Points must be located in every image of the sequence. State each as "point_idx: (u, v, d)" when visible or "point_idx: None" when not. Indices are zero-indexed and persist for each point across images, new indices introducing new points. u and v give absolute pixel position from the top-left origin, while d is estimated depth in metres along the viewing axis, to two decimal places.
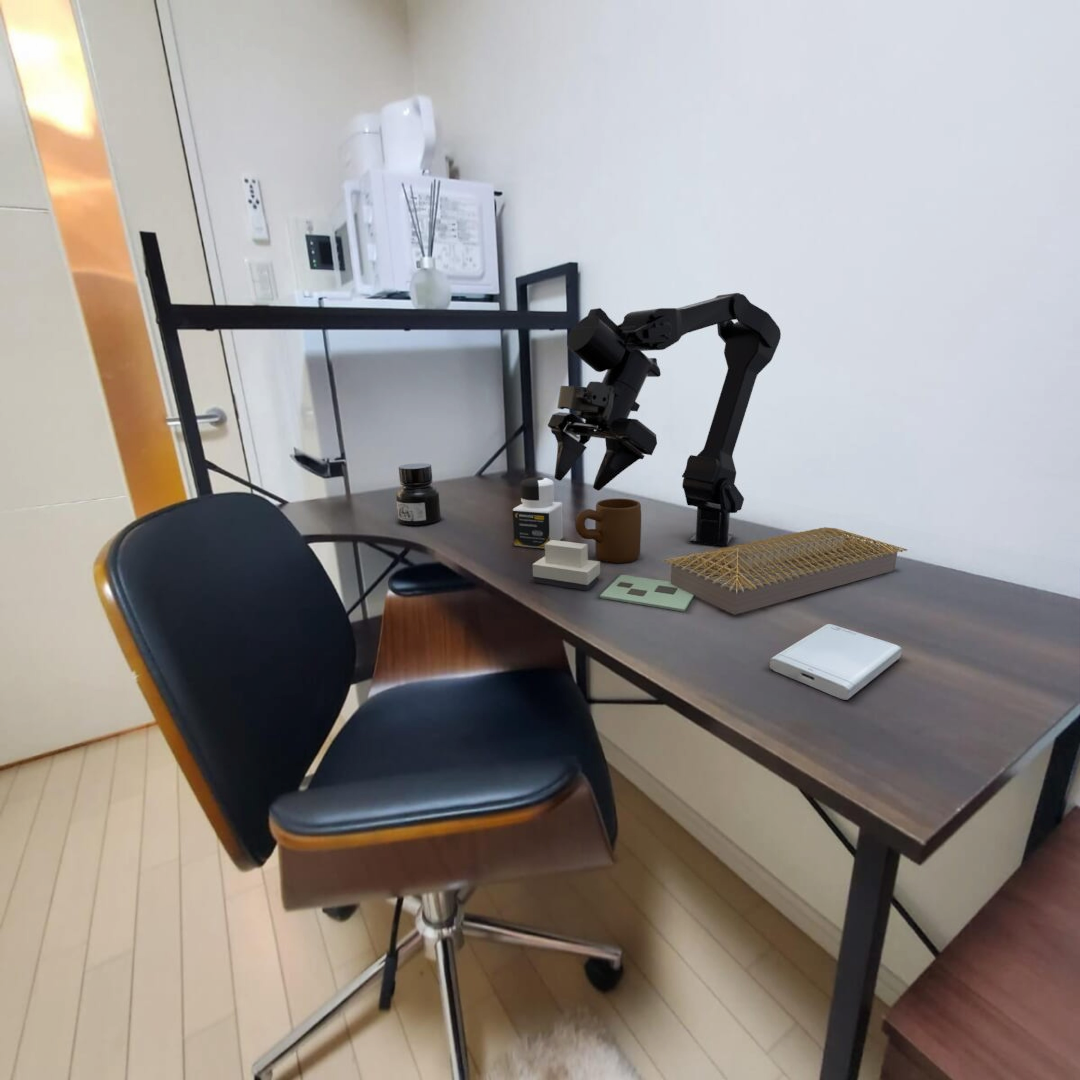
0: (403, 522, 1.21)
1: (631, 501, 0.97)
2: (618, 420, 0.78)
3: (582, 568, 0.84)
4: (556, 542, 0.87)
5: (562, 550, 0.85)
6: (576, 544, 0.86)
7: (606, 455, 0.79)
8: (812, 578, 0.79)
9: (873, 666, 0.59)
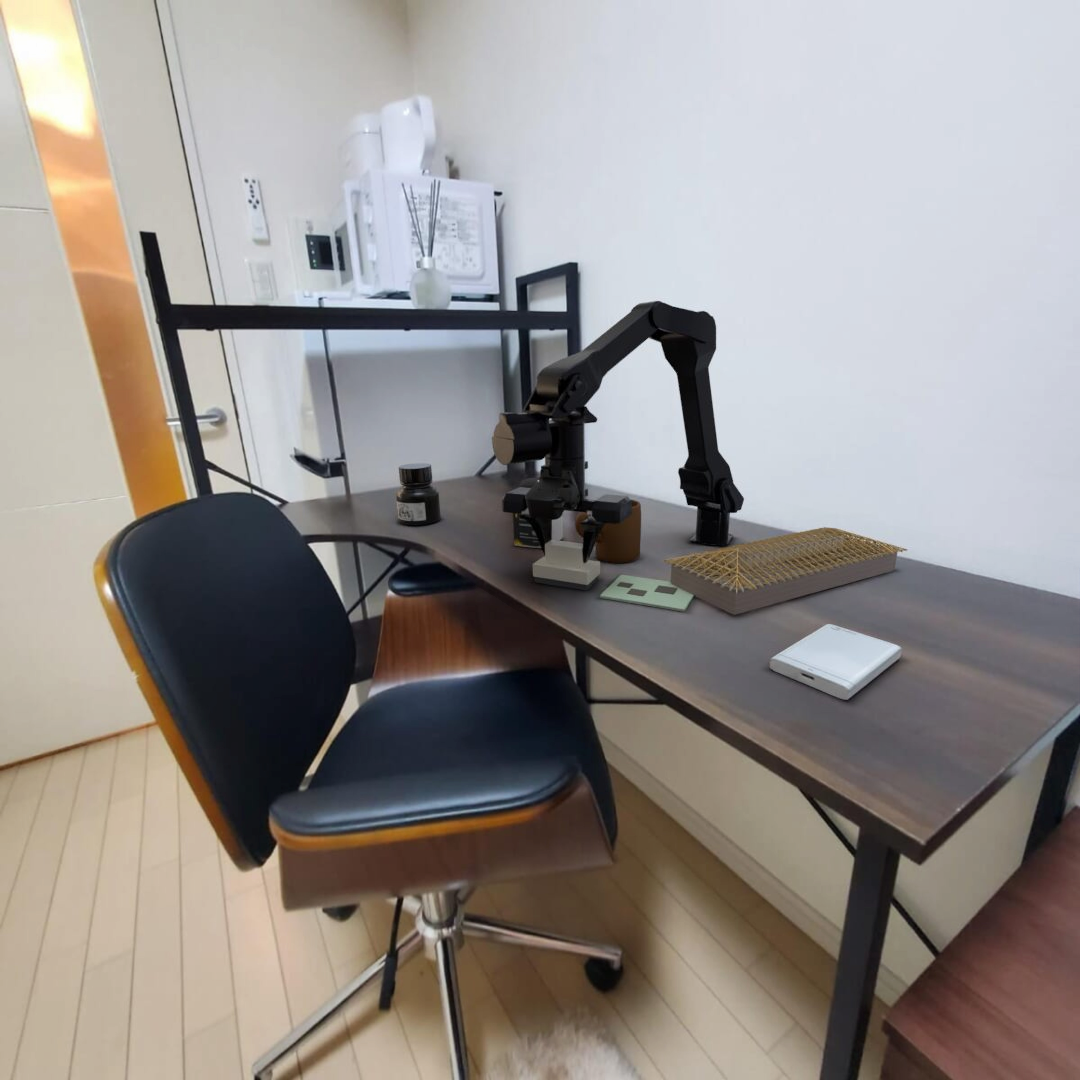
0: (403, 522, 1.21)
1: (631, 501, 0.97)
2: (598, 507, 0.79)
3: (582, 568, 0.84)
4: (556, 542, 0.87)
5: (562, 550, 0.85)
6: (576, 544, 0.86)
7: (586, 535, 0.82)
8: (812, 578, 0.79)
9: (873, 666, 0.59)
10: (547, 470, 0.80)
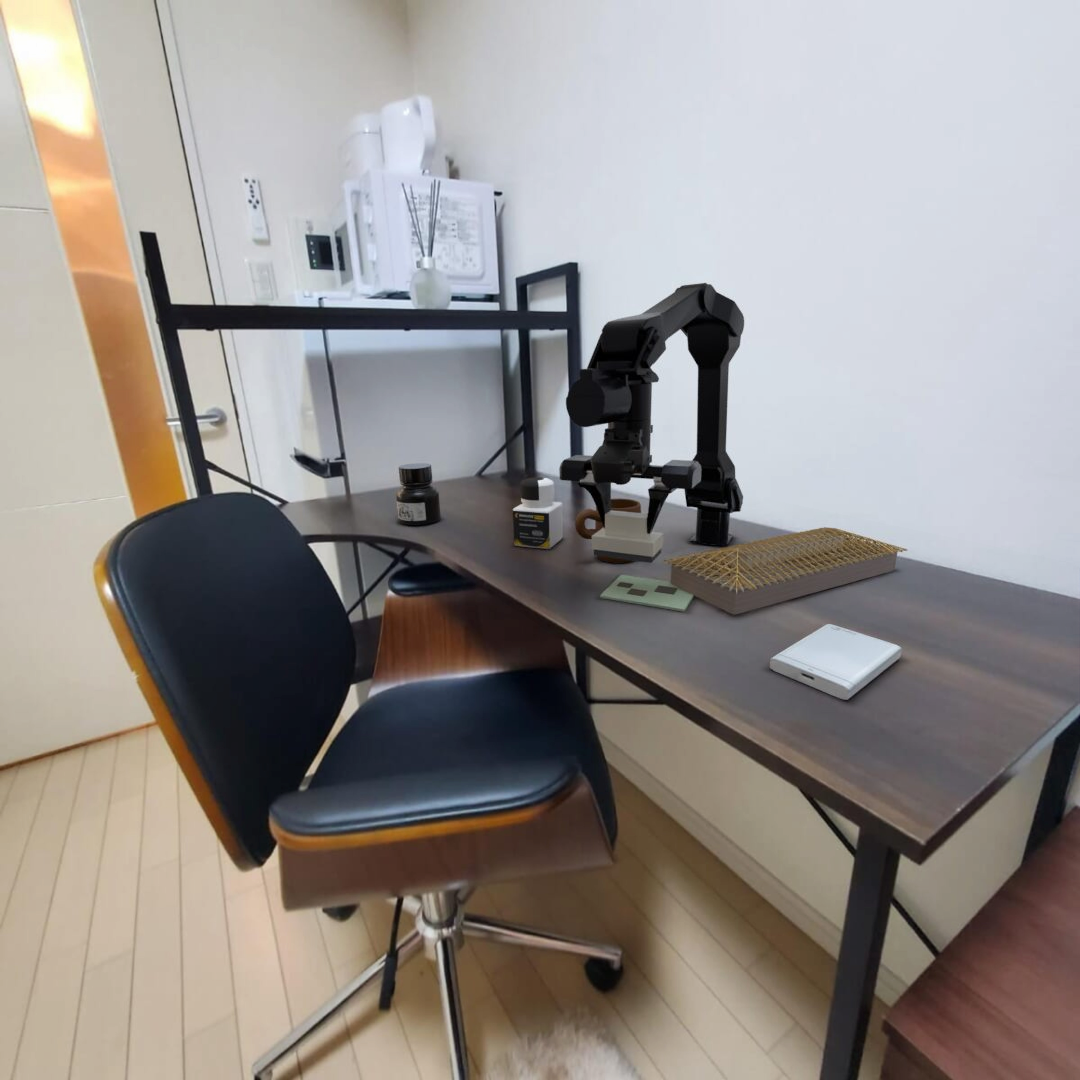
0: (403, 522, 1.21)
1: (631, 501, 0.97)
2: (668, 472, 0.73)
3: (646, 539, 0.79)
4: (617, 512, 0.81)
5: (624, 520, 0.80)
6: (639, 514, 0.80)
7: (652, 503, 0.77)
8: (812, 578, 0.79)
9: (873, 666, 0.59)
10: (612, 433, 0.75)
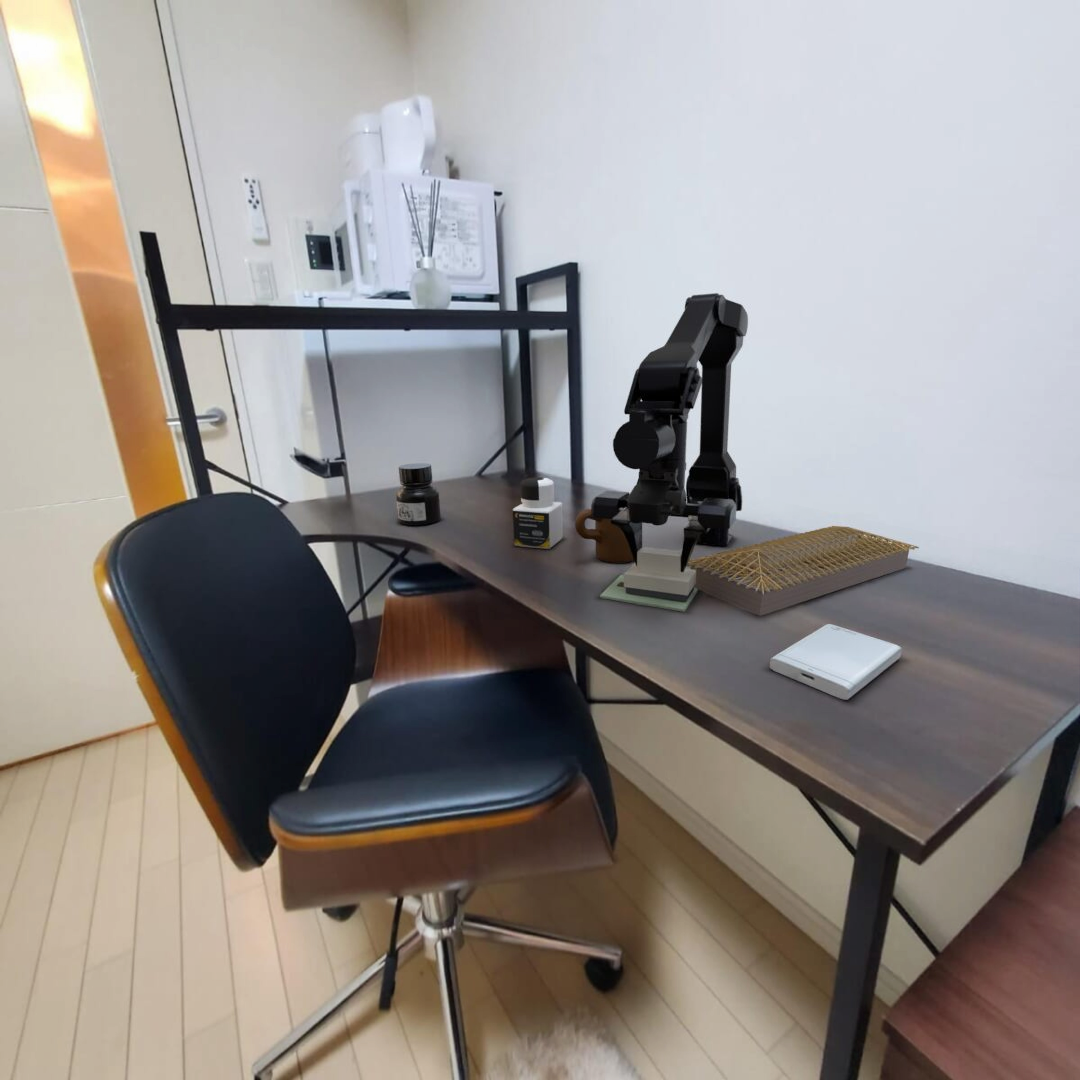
0: (403, 522, 1.21)
1: None
2: (704, 512, 0.73)
3: (680, 577, 0.78)
4: (649, 549, 0.81)
5: (657, 558, 0.79)
6: (672, 551, 0.80)
7: (686, 542, 0.76)
8: (831, 577, 0.79)
9: (873, 666, 0.59)
10: (647, 472, 0.74)
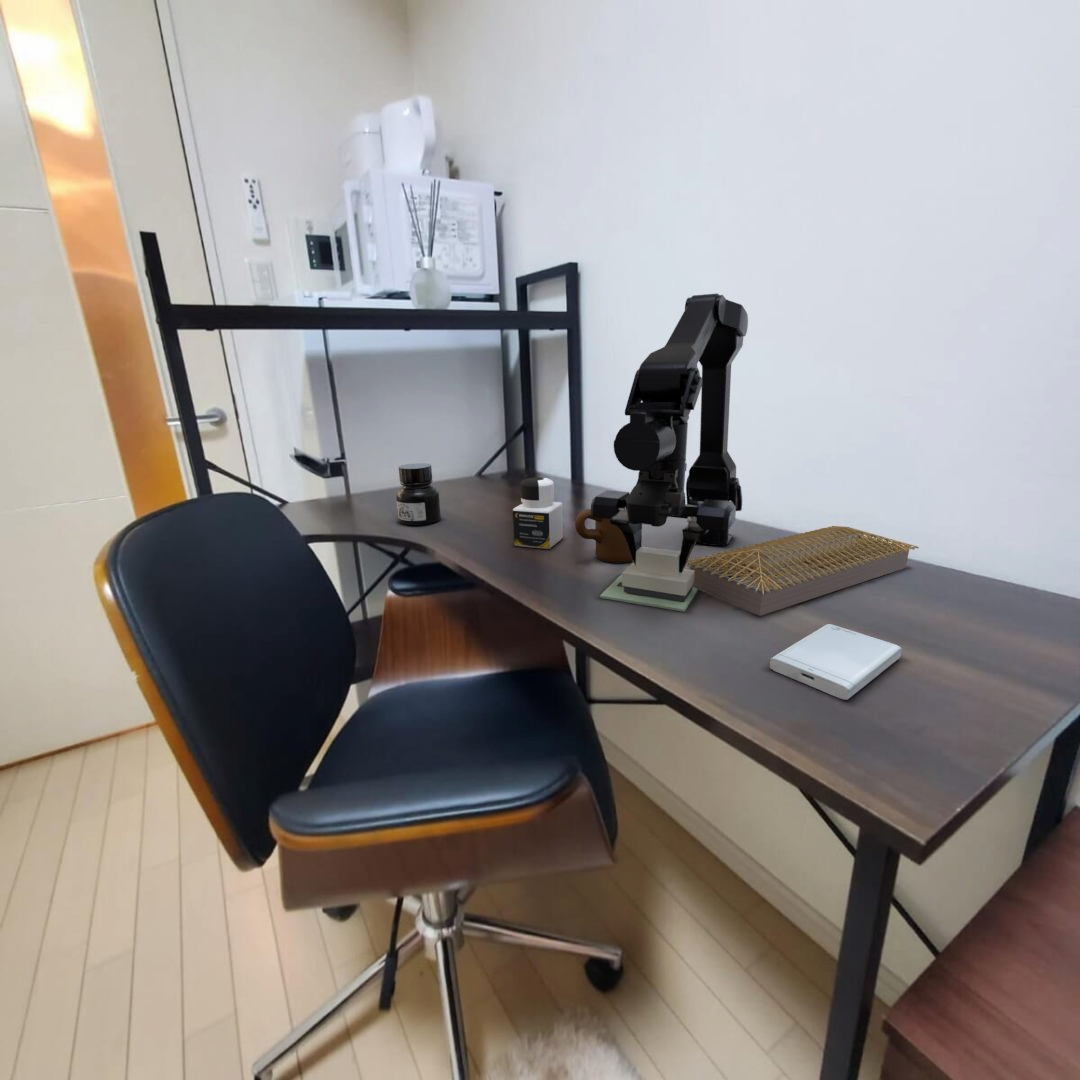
0: (403, 522, 1.21)
1: None
2: (703, 513, 0.73)
3: (678, 578, 0.78)
4: (648, 549, 0.81)
5: (656, 558, 0.79)
6: (671, 551, 0.80)
7: (685, 543, 0.76)
8: (831, 577, 0.79)
9: (873, 666, 0.59)
10: (647, 473, 0.74)
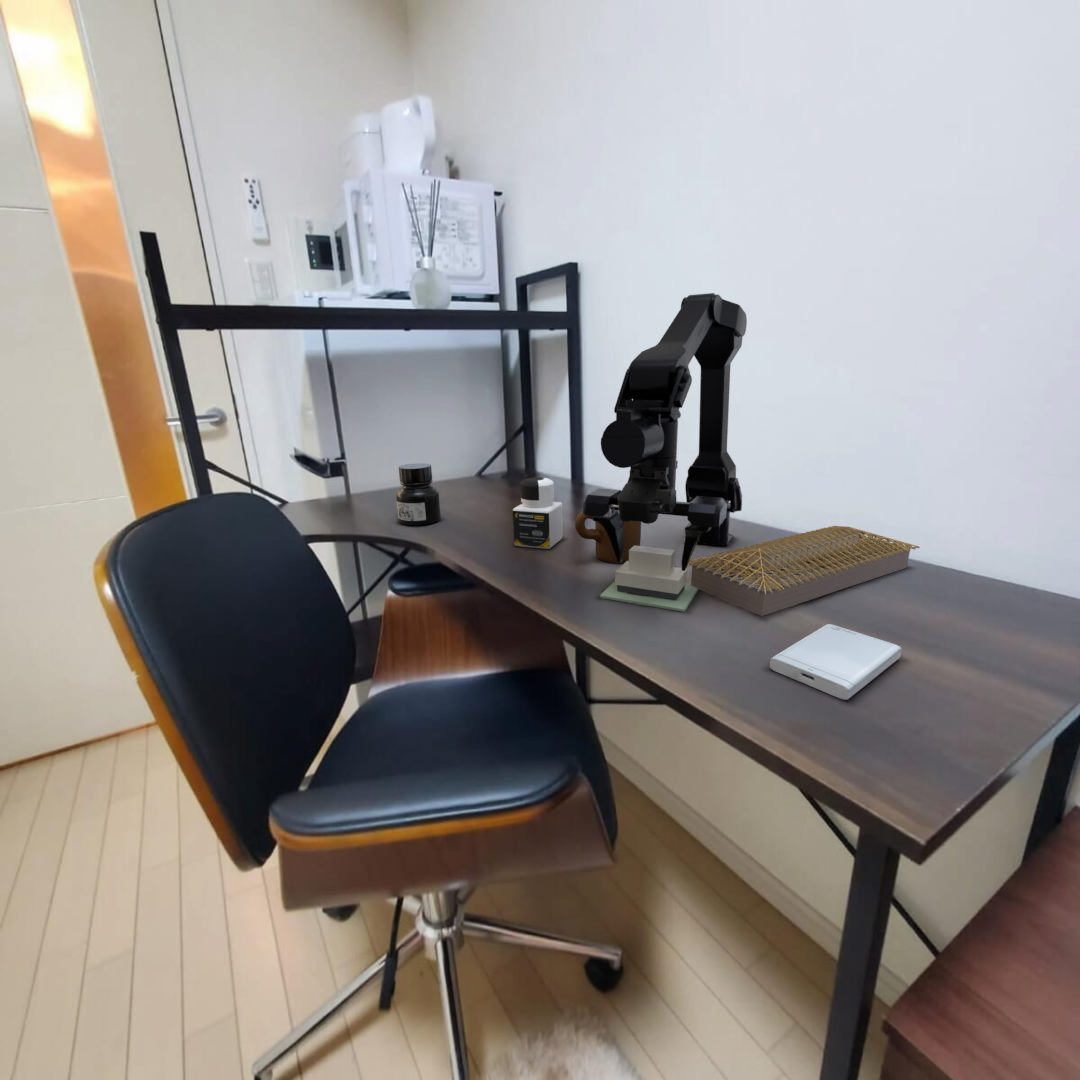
0: (403, 522, 1.21)
1: None
2: (694, 510, 0.73)
3: (671, 576, 0.79)
4: (640, 548, 0.81)
5: (649, 556, 0.80)
6: (663, 550, 0.80)
7: (688, 541, 0.76)
8: (833, 577, 0.79)
9: (873, 666, 0.59)
10: (638, 470, 0.75)
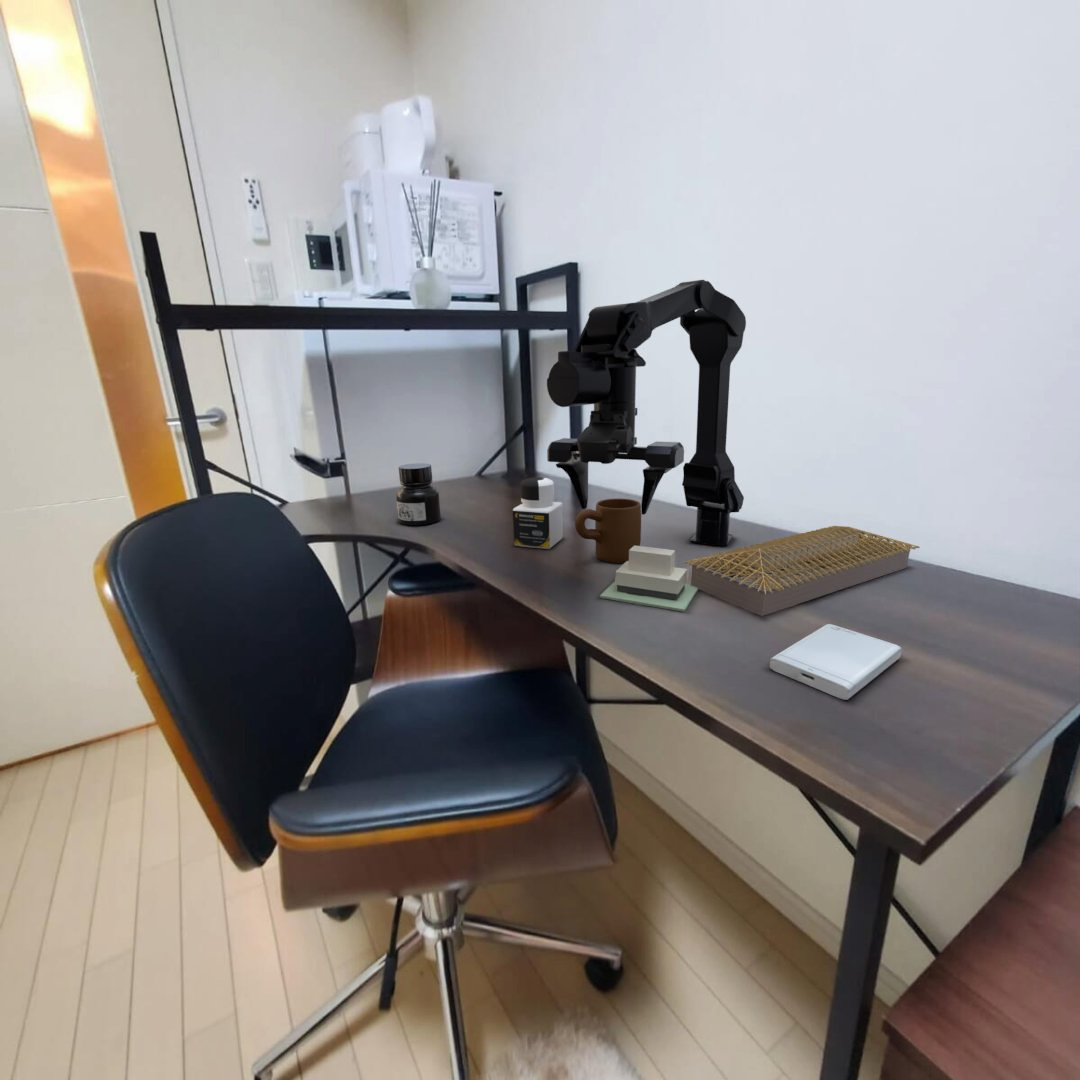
0: (403, 522, 1.21)
1: (631, 501, 0.97)
2: (651, 452, 0.76)
3: (671, 576, 0.79)
4: (640, 548, 0.81)
5: (649, 556, 0.80)
6: (663, 550, 0.80)
7: (646, 484, 0.79)
8: (833, 577, 0.79)
9: (873, 666, 0.59)
10: (598, 415, 0.78)
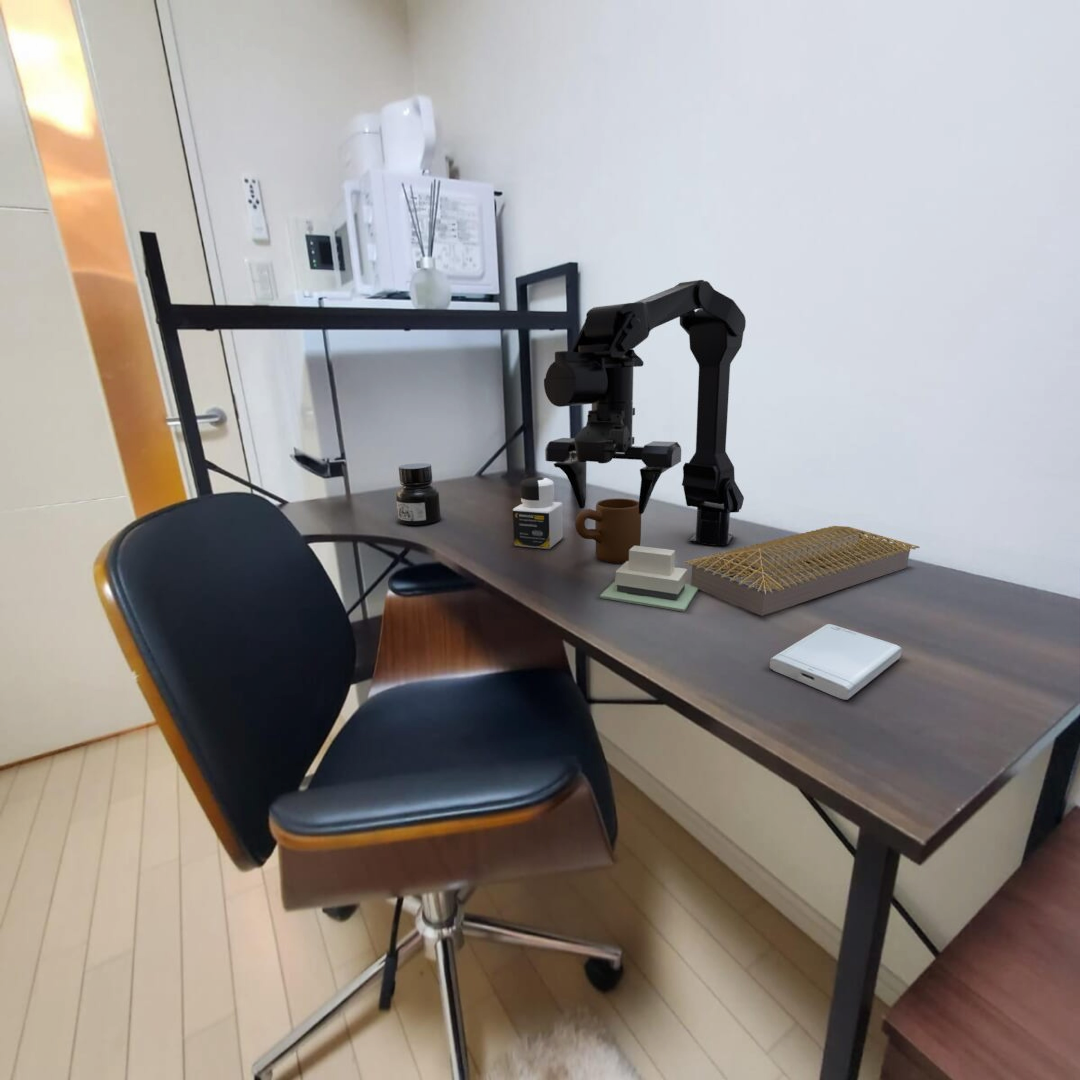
0: (403, 522, 1.21)
1: (631, 501, 0.97)
2: (648, 452, 0.76)
3: (671, 576, 0.79)
4: (640, 548, 0.81)
5: (649, 556, 0.80)
6: (663, 550, 0.80)
7: (643, 483, 0.79)
8: (833, 577, 0.79)
9: (873, 666, 0.59)
10: (595, 414, 0.78)
